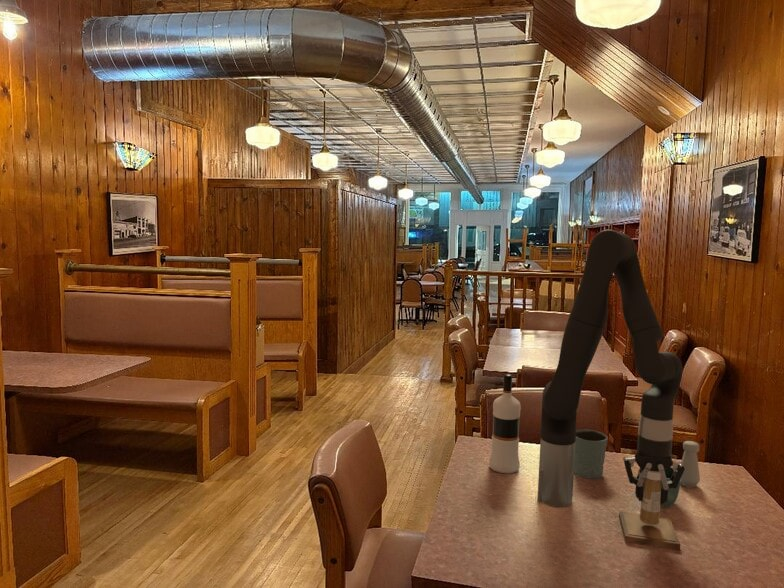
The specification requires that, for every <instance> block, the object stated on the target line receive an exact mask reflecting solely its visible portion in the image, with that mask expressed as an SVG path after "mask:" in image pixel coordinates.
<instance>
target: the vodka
mask: <svg viewBox="0 0 784 588" xmlns="http://www.w3.org/2000/svg"><path fill="white" fill-rule="evenodd" d="M502 381H503V386H502V387H503V388H502V395H500V396H499V397H497V398H495V399H494V401H493V403H492V416H493V419H492V435H491V454H490V457H489V461H488V464H489V468H490V469H492V471H494V472H497V473H499V474H505V475H507V474H514V473H516V472H518V471H519V469H520V467H521V466H520V460H519V459H520V457H519V443H520V438H519V437H520V434H519V433H520V419H521V403H520V400H518V399H517V398H516V397H514V396H513V395H512V394H513V393H512V388H513V375H512V374H510V373H505V374H503V380H502Z"/></svg>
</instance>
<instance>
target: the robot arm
mask: <svg viewBox="0 0 784 588" xmlns="http://www.w3.org/2000/svg"><path fill="white" fill-rule="evenodd" d="M589 244H590V245H589V246H588V247H589V248H588V251H587V255H586V260H585V265H584V268H583V273H582V278H581V281H580V283H579V284H580V285H579V287H578V290H577V293H576V296H575V299H574V302H573V305H572V307H571V308H572V309H571V311H570V313H569V315H568V320H567V321H566V324H565V328H564V332H563V335H562V340H561V345H560V351H559V357H558V363H557V367H556V370H555V373H553V374H554V375H553V377H552V380H550V381H549V382H548V383H546V385H545V386H544V388H543V391H542V399H541V400H542V401H541V417H540V419H541V420H540V443H539V444H540V446H539V459H538V460H539V462H538V463H539V464H538V477H537V478H538V482H537V498H536V499H537V500H536V501H537V502H541V503H543V504H545V505H548V506H552V507H559V508H560V507H567V506H570V505H571V504H572V503H573V497H574V496H573V495H574V476H575V473H574V462H575V445H576V430H577V413H578V412H577V411H578V408H579V403H580V399H581V395H582V390H583V385H584V381H585V379H586V375H587V372H588V370H589V367H590V366H591V363H592V362H593V358H594V356H595V354H596V352H597V349H598V347H599V344H600V342H601V339H602V336H603V333H604V332H605V331H604V330H605V327H606V325H607V321H608V315H609V314H608V311H609V310H608V309H609V308H608V307H609V305H608V304H609V303H608V297H609V288H610V284H611V281H612V278H613V275H614V277H615V279H616V281H617V284H618V287H619V291H620V297H621V299H620V300H621V309H622V314H623V318H624V321H625V324H626V327H627V330H628V332H629V335H630V337H631V339H632V347H633V349H632V350H633V356H634V364H635V369H636V372H637V374H638V376H639V377H640V378H641V380H643V382H645V383H647V384H650V385H651V386H650V387H649V389H647V390H646V391H644V392H643V394H642V396H641V402H640V417H639V420H638V421H639V422H638V430H637V431H638V432H637V433H638V434H637V445H636V447H637V448H636V453H635V454H634V456H633V457H628V456H624V457H623V458H622V460H623V463H624V467H625V471H626V475H627V479H628V482H629V483H630V484H634V485H635V491H634V493H635V497H636V499H638V501H639V502H641V501H642V497H643V486H642V485H643V483H644V480H645V479H646V477H647V474H648V472H649V471H657V472H659V473H660V474H661V482H662V486H661V504H664V502H667V498H668V490H669V489H670V488H674V489H675V488H677V486H678V483H679V481H680V479H681V477H682V474H683V472H684V470H685V468H684V466H683V465H682V463H681V462H680V461H679V462H677V461H673V459H672V453H673V452H672V451H673V450H672V447H673V439H674V438H673V436H674V422H673V421H674V420H673V417H674V403H675V400H676V399H675V398H676V396H677V395H678V394H677V393H678V391H679V388H680V384H681V381H682V378H683V373H684V371H683V364H682V361H681V359H680V358H679V356H678V355H677V354H675V353H674V352H670V351H663V352H659V348H658V347H659V346H658V343H659V342H660V341H662V339H663V338H664V333H663V330H662V327H661V324H660V322H659V319H658V317H657V315H656V312H655V310H654V307H653V305H652V302H651V300H650V296H649V294H648V292H647V288H646V285H645V281H644V278H643V273H642V269H641V265H640V261H639V255H638V251H637V246H636V243H635V241H634V239H633V238H632V237H631V236H629V235H628V234H626V233H622V232H621V231H616V230H613V229H604V230H601V231H599V232H598V233H596V235H594V237H593V238H592V239H591V241H590V243H589ZM635 463H636V465H638V468H639V469H638V471H637V476H636V477H635V476H634V474H633V470H632V468H633V467H634V464H635ZM670 467H673V470H674V472H673V474H672V476H671V479H670V481H667V479H666V475H665V472H666V471H667V470H668V469H669V468H670Z"/></svg>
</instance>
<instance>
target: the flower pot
mask: <svg viewBox="0 0 784 588" xmlns="http://www.w3.org/2000/svg"><path fill="white" fill-rule="evenodd" d="M673 472H674V470H673V466H671V467H670V468H669V469H668V470H667V471H666V472H665V475H666V479H667V481H670V479H671V476H672V474H673ZM661 486H662V485H661ZM680 488H681V479H680V481H679V483H678V486H677V488H675V489H674V488H670V489H669V490H668V498H667V502H664V504H661V503H660V507H666V508H671V507H672V506H673V505H674V504H675V503H676V501H677V500H678V496H679V493H680Z"/></svg>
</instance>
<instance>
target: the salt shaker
mask: <svg viewBox="0 0 784 588" xmlns="http://www.w3.org/2000/svg"><path fill="white" fill-rule="evenodd" d="M682 448H683V449H682V450H684V452H683V454H682V458H681V462H680V463H682V465H683V466H684V468H685V470H684V472H683V474H682V477H681V484H680V486H683V487H685V488H688V489H689V488H690V489H694V488H696V487H697V485H698V484H699V483H700V481H701V475H700V470H699V469H700V468H699V467H700V466H699V461H698V459H699V458H698V453H699V452H700V444H699V443H697V442H696V441H692V440H685V441H683V443H682Z"/></svg>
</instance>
